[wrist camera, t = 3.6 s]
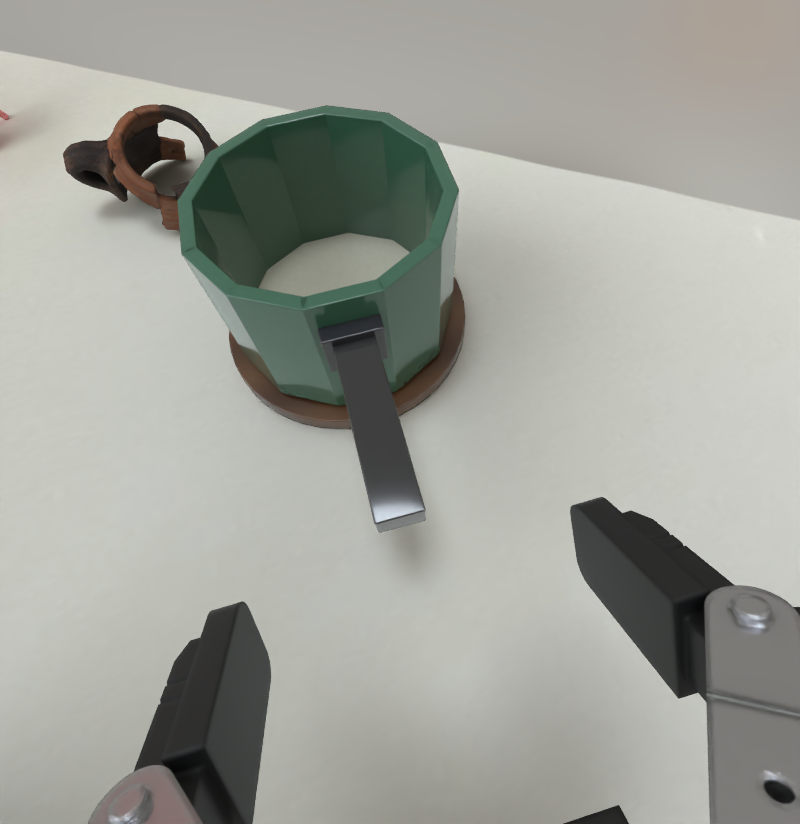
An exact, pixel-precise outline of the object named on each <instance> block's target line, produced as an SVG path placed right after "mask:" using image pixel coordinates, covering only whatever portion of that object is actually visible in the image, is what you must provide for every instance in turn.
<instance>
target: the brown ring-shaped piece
mask: <svg viewBox="0 0 800 824" xmlns="http://www.w3.org/2000/svg"><path fill="white" fill-rule="evenodd" d="M165 119H169V120H173V121H176V122H179V123H181V124H183V125H185V126H186V127H188V128H189V129H191V130H192V131H193V132H194V133H195V134H196V135H197V136H198V137H199V139H200V141H201V143H202V145H203V148H204V154H205V157H206V156H207V154H208V153H209V152H211V151H212V150H214V149H216V148H217V147H219V146H218V145H217V144H216V143H215V142H214V141H213V140H212V139H211V138H210V135H209V133H208V132H207V131H206V129H205V128H204V126H203V125H202V124H201V123H200V122H199V121H198V119H196V118H195V117H194V116H193V115H191V114H190V113H188V112H187V111H184V110H181V109H179V108H176V107H173V106H169V105H145V106H141V107H137V108H135V109H133V111H129V112H127V113H126V114H125V115H124V116H123V117H122V118H120V120H119V121H118V122H117V124H116V125H115V128H114V130H113V133H112V134H111V136H110V137H109V138H108V139H107V140H103V141H81V142H78V143H74V144H71V145H70V146H69V147H67V148H66V150H65V151H64V153H63V157H64V163H65V167H66V171H67V172H68V173H69V174H70V175H71V176H72V177H74V178H75V179H76V180H78V181H80V182H81V183H84V184H86V185H89V186H91V187H94V188H98V189H102V190H105V191H109V192H111V193H112V194H114V195H115V196H117V197H118V198H119V199H120V200H122V201H123V202H126V201H127V200H128V198H127V190H129V191H130V192H131V193H133V194H134V195H135V196H137V197H138V198H139V199H140V200H142V201H143V202H145V203H147V204H148V205H151V206H153V207H155V208H157V209H161V214H162V217H163V222H162V224H163V225H164V226H165V228H166V229H169V230H180V228H179V216H178V204H177V201H178V199H179V198H180V196H181V195H182V193H183V192H184V190H185V189H186V187H187V185H188V184H189V182H190V181H191V180H190V181H188V182H186V183H183V184H180V185H176V186H172V187H171V188H172V190H173V191H174V193H175V195H176V196H166V195H163V194H160V193H158V191H157V188H156V185H155V184H154V183H152V182H150V181H148V180H146V179H144V178H143V177H141V175H142V174H143V172H144V171H145V170H146V169H148V168H149V167H150V166H151V165H152V164H154V163H156V162H158V161H160V160H183V161H184V160H186V155H185V150H184V148H185V145H184V142H183V141H181V140H176V139H170V138H166V137H160V136H158V133H157V131H158V130H157V128H158V123H160V122H162V121H164V120H165ZM204 159H205V158H204Z"/></svg>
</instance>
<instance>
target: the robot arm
mask: <svg viewBox="0 0 800 824" xmlns="http://www.w3.org/2000/svg"><path fill="white" fill-rule="evenodd" d="M570 514H571V521H572V529H573V536H574V543H575V550H576V557H577V562H578V565H579V568H580V571H581V573H582V575H583V577H584V579H585V581H586V582H587V584H588V585H589V587H590V588H591V589H592V590H593V592H594V593H595V594H596V595H597V597H598V598H599V599H600V600H601V602H602V603H603V604H604V605H605V607H606V608H607V609H608V610H609V612H610V613H611V614H612V615H613V617H614V618H615V619H616V621H617V622H618V623H619V624H620V626H621V627H622V628H623V629H624V631H625V632H626V633H627V634H628V636H629V637H630V638H631V639H632V641H633V642H634V643H635V644H636V646H637V647H638V648H639V649H640V651H641V652H642V653H643V654H644V656H645V657H646V658H647V659H648V661H649V662H650V663H651V665H652V666H653V667H654V668H655V670H656V671H657V672H658V673H659V675H660V676H661V677H662V678H663V680H664V681H665V682H666V683H667V685H668V686H669V687H670V688H671V690H672V691H673V692H674V693H675V695H676V696H677V697H678V698H682V697H686V696H689V695H692V694H695V693H699V694H700V695H701V696H702V697H703V699H704V700H705V701H706V702H707V733H708V770H709V807H710V824H800V607H792V606H791V605H790V604H789V603H788V602H787V601H785V600H784V599H782V598H781V597H779V596H777V595H775V594H773V593H771V592H768V591H765V590H763V589H759V588H755V587H749V586H740V585H739V586H735V585H734V584H732V583H731V582H730V581H729V580H727V579H726V578H725V577H724V576H722V575H721V574H720V573H719V572H718V571H716V570H715V569H714V568H713V567H711V566H710V565H709V564H708V563H706V562H705V561H704V560H703V559H701V558H700V557H699V556H698V555H696V554H695V553H694V552H693V551H692V550H690V549H689V548H688V547H687V546H683V544H682V542H680V541H679V540H678V539H677V538H675V537H674V536H673V535H670V534H669V532H668V531H667V530H666V529H664V528H663V527H662V526H661V525H659V524H658V523H657V522H656V521H654V520H653V519H651V518H648V517H646V516H643V515H641V514H638V513H636V512H633V511H628V512H625V513H621V512H620V511H619V510H618V509H617V508H616V507H614V506H613V505H612V504H611V503H610V502H609V501H608V500H606V499H605V498H603V497H600V498H596V499H593V500H589V501H586V502H583V503H579V504H576V505H572V506H571V510H570ZM270 682H271V667H270V661H269V656H268V653H267V650H266V647H265V645H264V643H263V640H262V638H261V636H260V633H259V631H258V629H257V626H256V624H255V622H254V619H253V617H252V615H251V612H250V610H249V608H248V606H247V604H246V603H245V602H240V603H236V604H233V605H229V606H226V607H223V608H219V609H216V610H212V611H210V612H209V614H208V616H207V620H206V623H205V626H204V629H203V632H202V635H201V638H198V639H194V640H191V641H190V642H189V643H188V644H187V646H186V647H185V648H184V650H183V651H182V652H181V654H180V655H179V656H178V658H177V659H176V660H175V662H174V664H173V667H172V670H171V672H170V675H169V678H168V680H167V686H166V687H165V689H164V691H163V694H162V697H161V699H160V701H161V704H159V705H158V707H157V710H156V713H155V715H154V718H153V721H152V724H151V726H150V729H149V732H148V734H147V737H146V740H145V742H144V745H143V748H142V750H141V753H140V756H139V759H138V761H137V764H136V767H135V769H134V772H133V773H131V774H130V775H128V776H126V777H125V778H124V779H122V780H121V781H120V782H119V783H117V784H116V785H115V786H114V787H113V788H112V789H111V790H110V791H109V792H108V793H107V794H106V795H105V796H104V798H103V799H102V800H101V801H100V803H99V804H98V806H97V807H96V809H95V810H94V812H93V814H92V815H91V817H90V819H89V822H88V824H252V822H253V814H254V807H255V799H256V791H257V783H258V775H259V768H260V760H261V752H262V744H263V737H264V729H265V721H266V713H267V706H268V698H269V690H270ZM564 824H629V823H628V821H627V819H626V817H625V816H624V814H623V812H622V810H621V808H620V806H619V805H618V806H615V807H612V808H609V809H606V810H603V811H600V812H597V813H594V814H591V815H588V816H585V817H582V818H579V819H576V820H573V821H570V822H567V823H564Z"/></svg>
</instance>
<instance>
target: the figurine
mask: <svg viewBox="0 0 800 824" xmlns="http://www.w3.org/2000/svg"><path fill="white" fill-rule="evenodd" d="M0 117H2V118H4V119H5V120H6V119H8V115H7V114H6V113H4V112H3V111H1V110H0Z"/></svg>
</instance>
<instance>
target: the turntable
mask: <svg viewBox="0 0 800 824" xmlns="http://www.w3.org/2000/svg"><path fill="white" fill-rule="evenodd" d="M464 324H465V309H464V301H463V297H462V293H461V290H460V288H459V285H458V283H457V281H456V279H455V277H454V280H453V296H452V309H451V312H450V316H449V320H448V323H447V327H446V330H445V334H444V337H443V341H442V344H441V348H440V351H439V354H438V355H437V356H436V357H435V358H433V359H432V360H431V361H430V362H429V363H428V364H427V365H426V366H425V367H423V368H422V369H421V370H420V371H419V372H418V373H417V374H416V375H415V376H413V377H412V378H411V379H410V380H409V381H408V382H407V383H406V384H404V385H403V386H402V387H401V388H400V389H399V390H398V391H395V392H392V395H393V399H394V402H395V406H396V409H397V413H398V415H401V414H402V413H404V412H406V411H408V410H410V409H411V408H413V407H415V406H416V405H418V404H419V403H420V402H422V401H423V400H424V399H426V398H427V397H428V396H429V395H430V394H431V393H432V392H433V391H434V390H435V389H437V388H438V387H439V385H440V384H441V383H442V382H443V380H444V379H445V378H446V377H447V375H448V374H449V372H450V370H451V369H452V367H453V365H454V364H455V362H456V359H457V357H458V354H459V352H460V349H461V345H462V340H463V335H464ZM229 341H230V347H231V353H232V356H233V359H234V362H235V365H236V367H237V368H238V370H239V372H240V374H241V376H242V377H243V379H244V380H245V382H246V383H247V385H248V386H249V387H250V389H251V390H252V391H253V393H254V394H255V395H256V396H257V397H258V398H259V399H260V400H261V401H262V402H263V403H265V404H266V405H267V406H269V407H270V408H272V409H273V410H274V411H276V412H278V413H279V414H281V415H283V416H285V417H287V418H289V419H292V420H295V421H298V422H300V423H303V424H307V425H312V426H317V427H324V428H335V429H338V428H352V427H351V423H350V418H349V414H348V410H347V406H346V404H345V405H341V406H337V405H332V404H328V403H324V402H319V401H315V400H310V399H306V398H302V397H297V396H293V395H288V394H284V393H282V392H281V391H280V390H279V389H278V388H277V387H276V386H275V385H274V384H273V383H272V382H271V381H270V380H269V379H268V378H267V377H266V376H265V375H264V374H263V373H262V372H261V371H260V370H259V369H258V368H257V367H256V366H255V365H254V364H253V363H252V362H251V361H249V360H248V358H247V357H246V355H245V354H244V352H243V351H242V349H241V347H240V346H239V344H238V343H237V341H236V340H235V338H234V336H233V335H232V333H231V332H230V330H229Z"/></svg>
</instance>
